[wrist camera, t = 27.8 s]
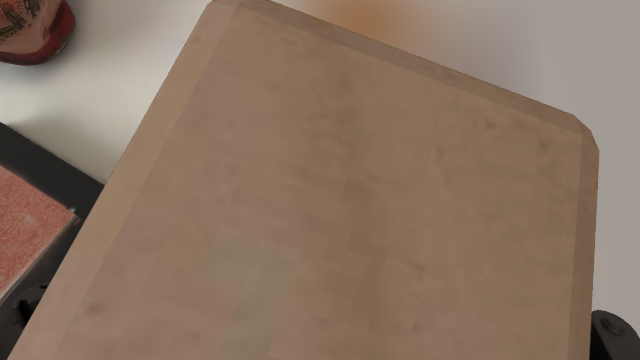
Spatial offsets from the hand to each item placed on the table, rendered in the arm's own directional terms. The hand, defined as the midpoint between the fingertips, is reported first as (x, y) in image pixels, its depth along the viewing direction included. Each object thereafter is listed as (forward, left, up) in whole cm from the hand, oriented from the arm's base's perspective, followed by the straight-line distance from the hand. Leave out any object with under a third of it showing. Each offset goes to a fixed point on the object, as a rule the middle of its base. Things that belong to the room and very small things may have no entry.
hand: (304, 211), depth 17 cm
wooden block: (0, +3, -10) cm, 10 cm away
